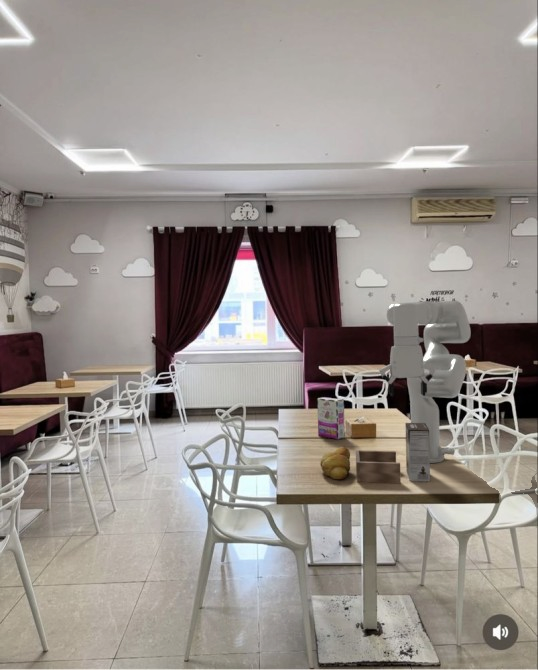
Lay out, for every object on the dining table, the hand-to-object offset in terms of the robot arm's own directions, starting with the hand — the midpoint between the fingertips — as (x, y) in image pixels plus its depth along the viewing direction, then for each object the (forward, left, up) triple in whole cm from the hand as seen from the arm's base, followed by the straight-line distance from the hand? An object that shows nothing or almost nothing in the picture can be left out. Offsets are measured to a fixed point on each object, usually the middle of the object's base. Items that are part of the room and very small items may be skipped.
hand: (407, 395), depth 142 cm
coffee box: (-2, +3, -25) cm, 26 cm away
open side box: (+10, +3, -25) cm, 27 cm away
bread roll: (+23, +4, -25) cm, 35 cm away
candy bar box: (+26, -43, -25) cm, 57 cm away
